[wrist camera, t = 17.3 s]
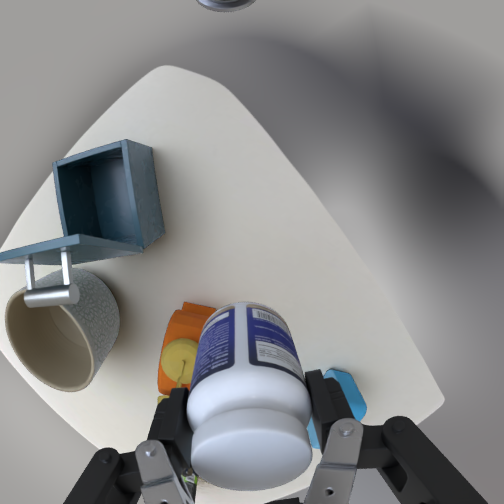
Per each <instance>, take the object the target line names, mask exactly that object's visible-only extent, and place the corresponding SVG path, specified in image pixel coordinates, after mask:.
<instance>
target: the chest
mask: <svg viewBox="0 0 504 504" xmlns="http://www.w3.org/2000/svg"><path fill="white" fill-rule="evenodd" d="M52 164H53V173H54V181H55V189H56V195H57V202H58V208H59V214H60V219H61V224H62V229H63V234H64V237H66V236H70V235H75V234H83V235H88V236H93V237H98V238H103V239H108V240H112V241H117V242H122V243H127V244H132V245H137V246H142V247H143V249H145V248H146V247H147V246H149V245H150V244H151V243H153V242H154V241H155V240H157V239H158V238H159V237H161V236H162V235H163V234H165V228H164V223H163V217H162V212H161V206H160V200H159V194H158V188H157V181H156V175H155V168H154V161H153V153H152V147H149V146H146V145H143V144H140V143H137V142H134V141H131V140H128V139H125V140H121V141H118V142H114V143H111V144H107V145H104V146H101V147H97V148H94V149H91V150H88V151H85V152H82V153H79V154H76V155H73V156H70V157H67V158H64V159H61V160H59V161H56V162H53V163H52Z"/></svg>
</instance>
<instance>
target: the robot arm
mask: <svg viewBox="0 0 504 504" xmlns="http://www.w3.org/2000/svg"><path fill="white" fill-rule="evenodd" d="M210 1H213V2H217V3H233V2H237V1H240V0H210ZM305 380H306V384H307V387H308V390H309V393H310V398H311V403H312V415H311V417H312V420H313V424H314V428H315V431H316V435H317V439H318V442H319V446H320V450H321V453H322V454H323V456H322V459H321V462H320V464H318V465H317V467H316V470H315V473H314V476H313V479H312V481H311V484H310V487H309V490H308V492H307V495H306V498H305V500H304V503H300V502H299V498H298V497H297V498H291V499H284V500H277V501H272V502H269V503H265V504H349V500H350V496H351V492H352V488H353V484H354V479H355V475H356V471H357V469H363V468H364V469H367V468H376V469H377V470H378V472H379V473H380V474H381V476H382V477H383V479H384V480H385V482H386V483H387V484H388V486H389V487H390V489H391V490H392V492H393V493H394V495H395V496H396V497H397V499H398V500H399V502H400V503H401V504H488V503H487V502H486V501H485V500H484V498H483V497H482V496H481V495H480V494H479V493H478V492H477V491H476V490H475V489H474V488H473V487H472V485H471V484H470V483H469V482H468V481H467V480H466V479H465V478H464V477H463V476H462V475H461V473H460V472H459V471H458V470H457V469H456V468H455V467H454V466H453V465H452V464H451V463H450V462H449V460H448V459H447V458H446V457H445V456H444V455H443V454H442V453H441V452H440V451H439V450H438V448H437V447H436V446H435V445H434V444H433V443H432V442H431V441H430V440H429V439H428V438H427V437H426V435H425V434H424V433H423V432H422V431H421V430H420V429H419V428H418V427H417V426H416V425H415V424H414V422H413V421H412V420H411V419H409V418H407V417H404V416H395V417H392V418H390V419H388V420H387V421H386V422H385V423H384V425H378V426H369V425H364V424H361V422H359V421H358V420H356V419H355V417H354V415H353V413H352V410H351V408H350V406H349V403H348V401H347V399H346V397H345V394H344V392H343V390H342V387H341V385H340V383H339V382H338V381H337V380H336V379H334V378H333V377H329V378H325V379H324V378H323V375H322V372H321V370H320V369H318V370H313V371H308V372H305ZM188 395H189V390H188V388H187V387H182V388H172V389H171V392H170V396H169V398H163V399H162V400H161V402H160V403H159V404H158V405H157V408H156V412H155V415H154V420H153V421H152V424H151V428H150V431H149V434H148V438H147V440H146V441H144V442H142V443H140V444H139V445H138V446H137V448H136V450H135V451H133V452H128V453H123V454H119V453H118V452H117V450H115V449H113V448H103V449H100V450H99V451H97V452H96V453H95V454H94V456H93V458H92V459H91V461H90V462H89V464H88V466H87V467H86V468H85V470H84V472H83V473H82V475H81V476H80V478H79V480H78V481H77V483H76V484H75V486H74V488H73V489H72V491H71V492H70V494H69V495H68V497H67V498H66V500H65V502H64V503H63V504H137V502H138V500H139V498H140V496H141V493H142V495H143V499H144V502H145V504H195V503H194V501H193V499H192V497H191V495H190V493H189V490H188V488H187V486H186V484H185V481H184V479H183V477H182V475H181V473H182V468H190V463H191V449H192V437H193V434H194V432H193V431H192V429H191V427H190V425H189V422H188V419H187V402H188Z"/></svg>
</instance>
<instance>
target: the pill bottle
mask: <svg viewBox="0 0 504 504" xmlns="http://www.w3.org/2000/svg"><path fill="white" fill-rule="evenodd" d="M311 415H312V403H311V398H310V393H309V390H308V387H307V384H306V381H305V378H304V375H303V371H302V368H301V365H300V362H299V359H298V355H297V352H296V349H295V346H294V343H293V340H292V337H291V334H290V331H289V328H288V326H287V324H286V322H285V321H284V319H283V318H282V317H281V316H280V315H279V314H278V313H277V312H276V311H274V310H273V309H271V308H269V307H267V306H265V305H262V304H259V303H253V302H238V303H233V304H230V305H227V306H224V307H223V308H221V309H219V310H217V311H216V312H215V313H213V314H212V315H211V316H210V317H209V319H208V320H207V321H206V323H205V325H204V327H203V329H202V332H201V335H200V340H199V345H198V349H197V355H196V360H195V365H194V370H193V375H192V380H191V385H190V390H189V395H188V402H187V419H188V422H189V425H190V427H191V429H192V431H193V432H194V434H193V437H192V449H191V465H192V467H193V469H194V471H195V472H196V473H197V474H198V475H199V476H200V477H201V478H202V479H204V480H205V481H207V482H209V483H211V484H213V485H215V486H218V487H221V488H225V489H230V490H238V491H258V490H265V489H271V488H274V487H278V486H281V485H284V484H286V483H288V482H290V481H292V480H294V479H296V478H297V477H299V476H300V475H301V474H302V473H304V472H305V471H306V469H307V468H308V467H309V465H310V463H311V461H312V448H311V444H310V440H309V435H308V431H307V429H306V428H307V427H308V425H309V422H310V419H311Z"/></svg>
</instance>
